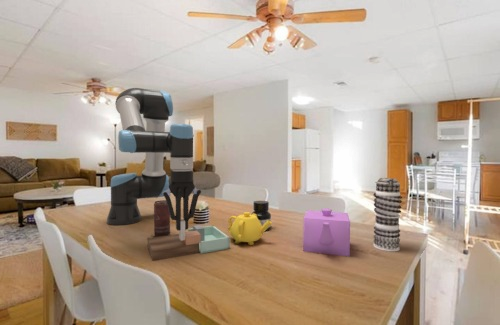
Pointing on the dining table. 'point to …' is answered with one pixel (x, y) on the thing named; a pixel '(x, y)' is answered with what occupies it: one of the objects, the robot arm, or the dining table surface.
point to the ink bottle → (262, 212)
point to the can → (161, 219)
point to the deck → (169, 247)
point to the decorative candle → (387, 214)
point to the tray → (213, 240)
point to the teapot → (247, 228)
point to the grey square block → (200, 231)
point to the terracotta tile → (192, 237)
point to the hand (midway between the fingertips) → (182, 239)
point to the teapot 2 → (326, 232)
